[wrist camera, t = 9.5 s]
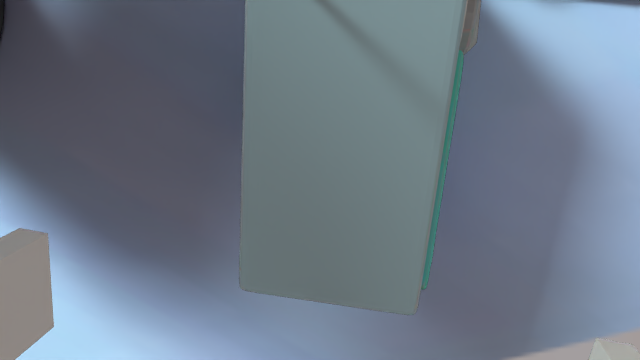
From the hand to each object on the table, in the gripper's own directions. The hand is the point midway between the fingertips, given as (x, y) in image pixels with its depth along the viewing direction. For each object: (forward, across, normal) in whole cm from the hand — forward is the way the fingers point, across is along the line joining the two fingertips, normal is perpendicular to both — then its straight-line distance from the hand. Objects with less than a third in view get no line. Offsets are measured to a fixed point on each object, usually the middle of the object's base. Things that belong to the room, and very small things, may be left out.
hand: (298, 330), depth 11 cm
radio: (+20, 0, +4) cm, 20 cm away
